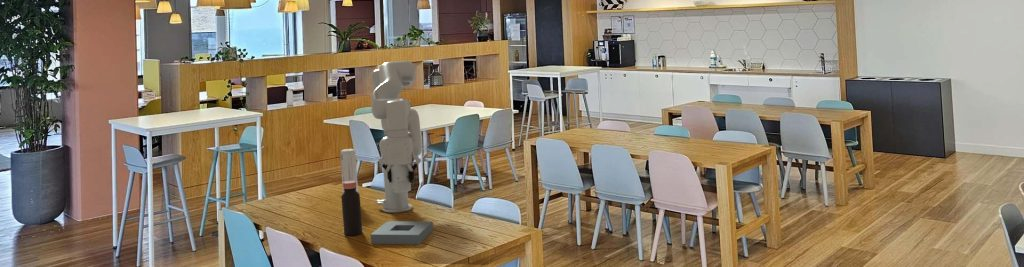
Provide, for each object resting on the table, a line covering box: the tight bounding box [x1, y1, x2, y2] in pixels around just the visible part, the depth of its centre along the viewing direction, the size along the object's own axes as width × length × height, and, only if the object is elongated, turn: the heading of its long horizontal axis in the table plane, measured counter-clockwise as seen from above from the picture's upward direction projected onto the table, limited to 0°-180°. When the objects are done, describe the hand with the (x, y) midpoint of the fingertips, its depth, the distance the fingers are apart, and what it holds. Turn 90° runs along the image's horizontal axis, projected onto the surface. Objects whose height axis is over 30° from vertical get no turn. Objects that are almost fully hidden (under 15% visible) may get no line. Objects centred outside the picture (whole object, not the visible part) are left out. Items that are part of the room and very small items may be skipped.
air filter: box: [339, 148, 359, 194], centre depth 336 cm, size 6×6×25 cm
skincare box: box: [391, 161, 412, 193], centre depth 284 cm, size 6×4×12 cm
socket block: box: [370, 220, 434, 245], centre depth 284 cm, size 18×18×4 cm
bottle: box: [340, 181, 363, 237], centre depth 291 cm, size 7×7×20 cm
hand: (401, 181), depth 284 cm, fingers closed on skincare box, 7 cm apart
